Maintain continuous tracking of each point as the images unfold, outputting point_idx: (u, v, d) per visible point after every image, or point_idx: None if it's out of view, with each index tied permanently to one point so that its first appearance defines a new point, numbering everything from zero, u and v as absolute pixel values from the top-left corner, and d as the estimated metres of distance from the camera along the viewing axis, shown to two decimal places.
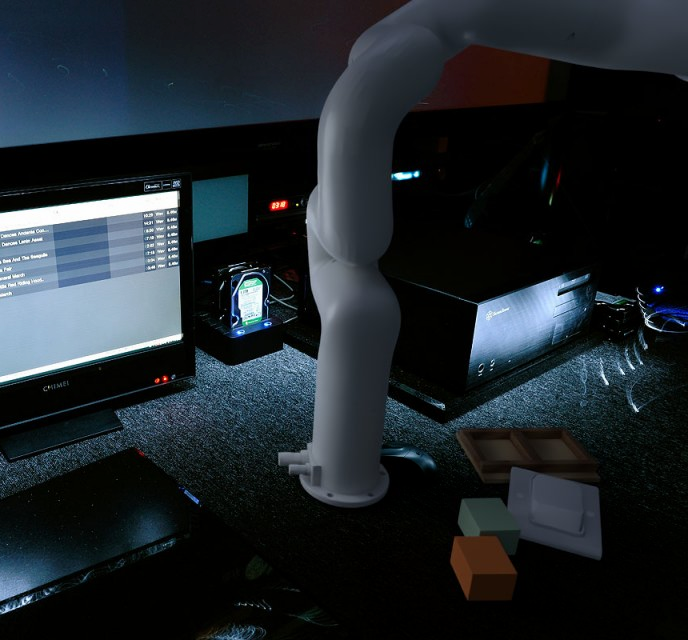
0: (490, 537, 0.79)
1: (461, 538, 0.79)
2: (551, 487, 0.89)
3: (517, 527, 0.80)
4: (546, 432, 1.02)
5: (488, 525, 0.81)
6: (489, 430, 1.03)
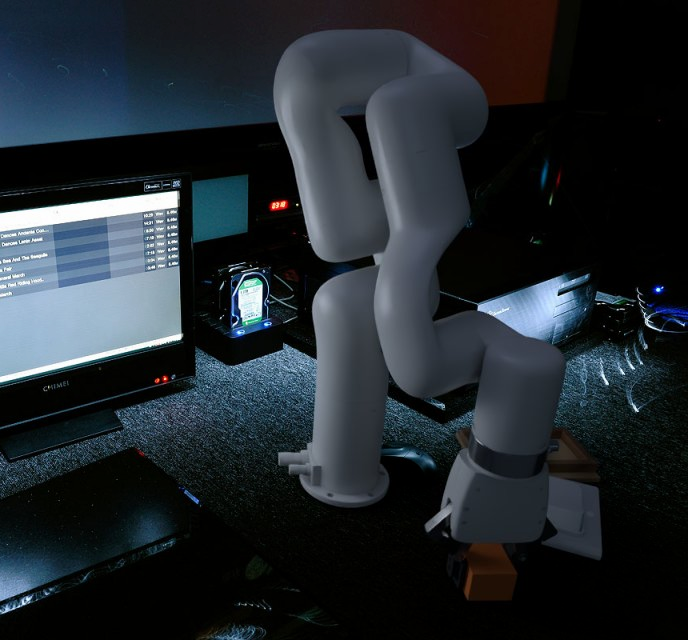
0: None
1: None
2: (551, 487, 0.89)
3: None
4: None
5: None
6: None
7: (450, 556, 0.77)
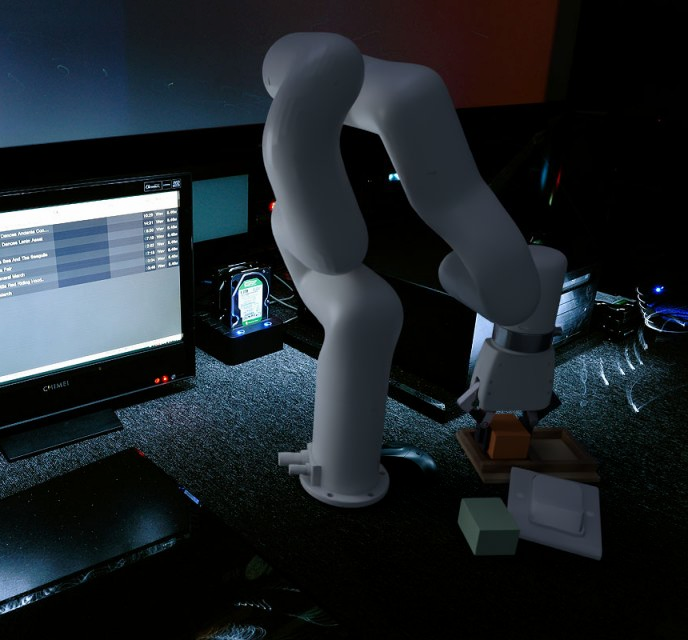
0: (508, 414, 1.00)
1: None
2: (551, 487, 0.89)
3: (517, 527, 0.80)
4: (546, 432, 1.02)
5: (488, 525, 0.81)
6: None
7: (477, 426, 0.98)
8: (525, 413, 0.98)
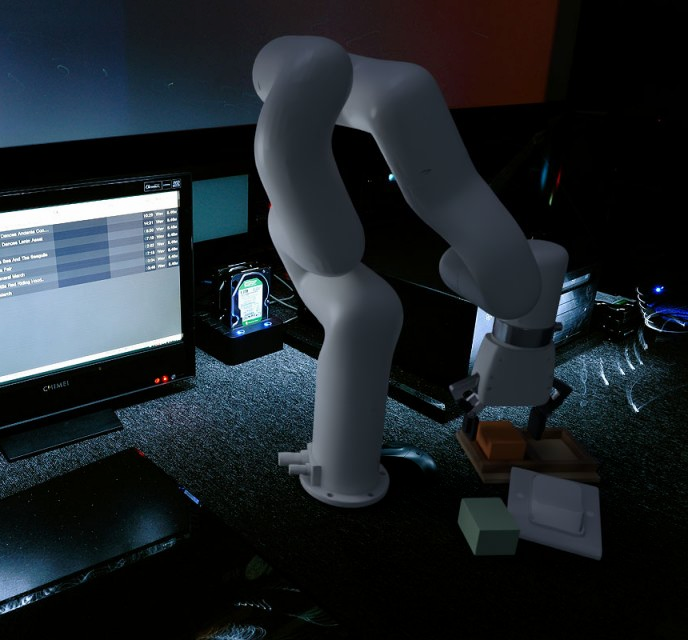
0: (504, 421, 1.00)
1: (482, 422, 1.00)
2: (551, 487, 0.89)
3: (517, 527, 0.80)
4: (546, 432, 1.02)
5: (488, 525, 0.81)
6: None
7: (464, 416, 0.97)
8: None
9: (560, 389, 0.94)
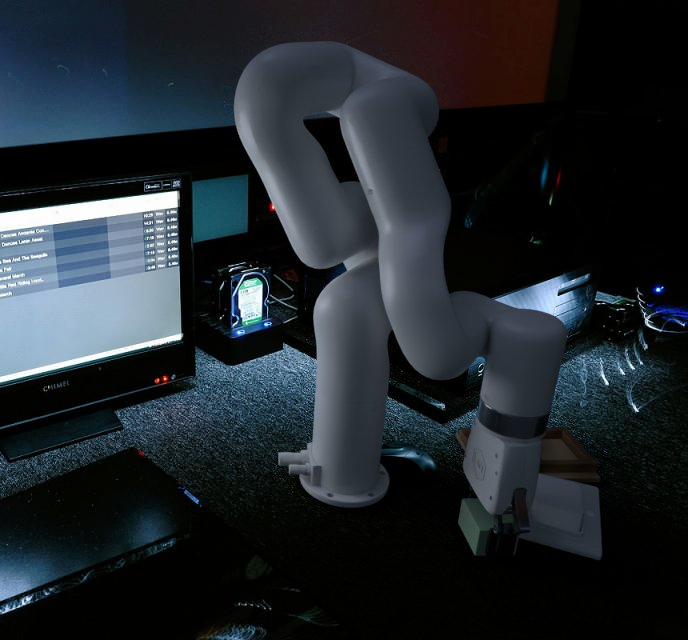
0: None
1: None
2: (551, 487, 0.89)
3: None
4: (546, 432, 1.02)
5: (488, 525, 0.81)
6: None
7: (503, 540, 0.79)
8: None
9: None
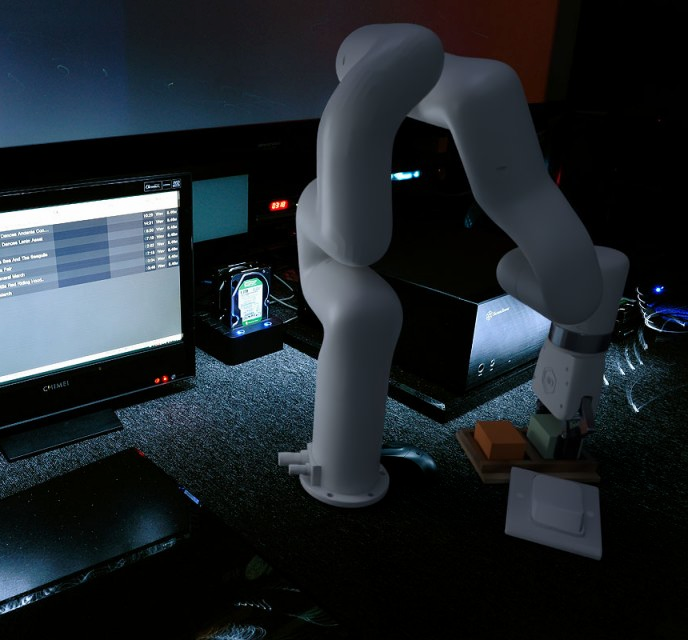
0: (504, 421, 1.00)
1: (482, 422, 1.00)
2: (551, 487, 0.89)
3: None
4: None
5: (556, 432, 0.96)
6: None
7: (570, 444, 0.94)
8: (543, 403, 1.00)
9: None
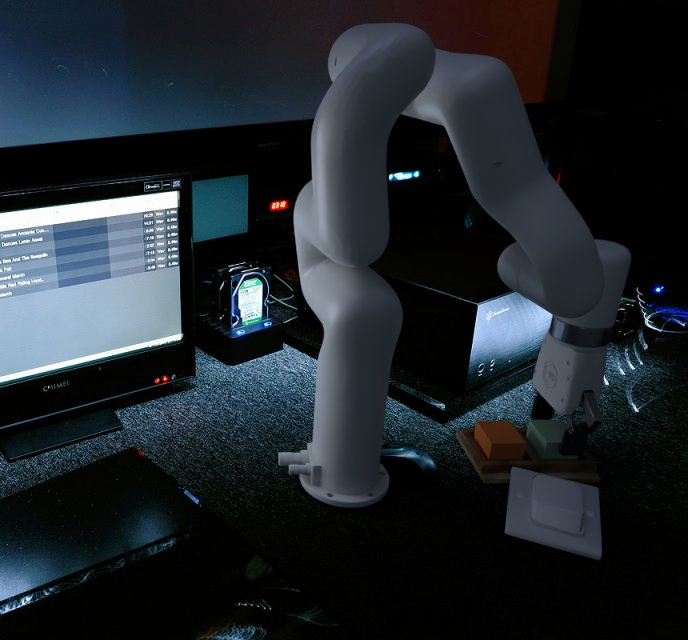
0: (504, 421, 1.00)
1: (482, 422, 1.00)
2: (551, 487, 0.89)
3: None
4: None
5: (554, 438, 0.96)
6: None
7: (576, 439, 0.92)
8: None
9: None
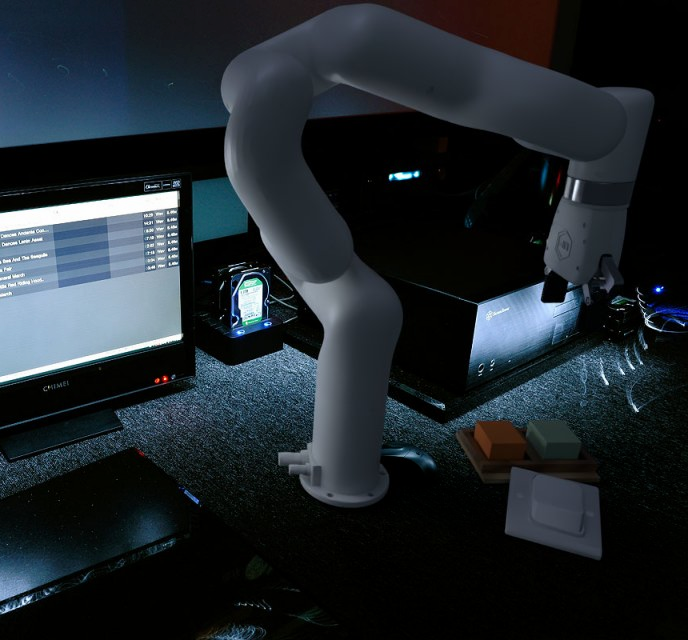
0: (504, 421, 1.00)
1: (482, 422, 1.00)
2: (551, 487, 0.89)
3: (578, 440, 0.95)
4: None
5: (554, 438, 0.96)
6: None
7: (594, 312, 0.84)
8: (553, 270, 0.93)
9: None
